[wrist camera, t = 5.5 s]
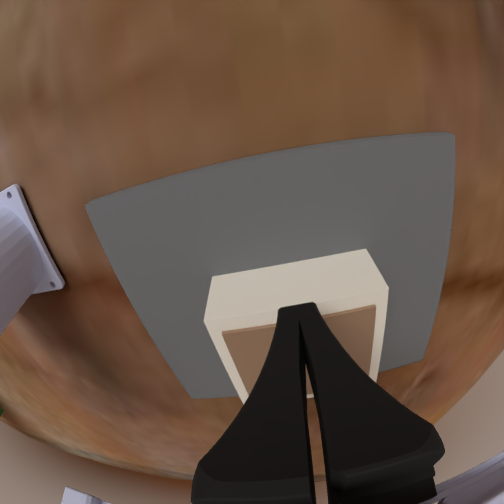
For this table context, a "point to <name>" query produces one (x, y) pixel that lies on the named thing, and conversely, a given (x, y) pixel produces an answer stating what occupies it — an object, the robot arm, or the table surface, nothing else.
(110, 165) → the table surface
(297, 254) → the rubber mat
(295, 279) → the cream slab
